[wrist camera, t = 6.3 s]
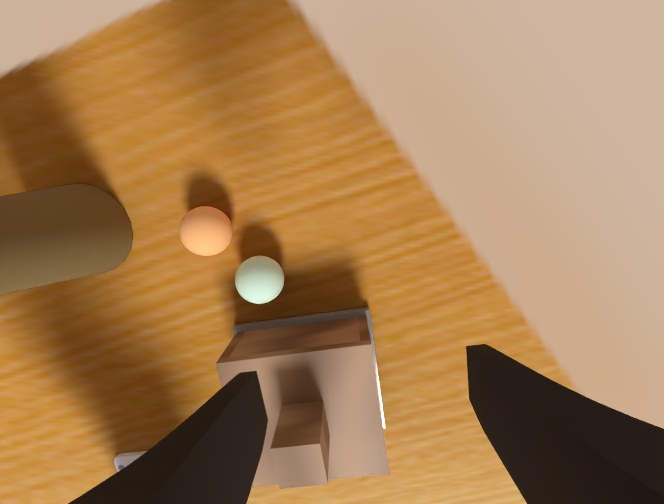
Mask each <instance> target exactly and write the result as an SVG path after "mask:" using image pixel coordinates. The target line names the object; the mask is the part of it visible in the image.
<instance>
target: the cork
mask: <svg viewBox="0 0 664 504" xmlns="http://www.w3.org/2000/svg"><path fill="white" fill-rule="evenodd" d="M132 240H133V233H132V227H131V222H130V220H129V218H128V216H127V214H126V212H125V210H124V208H123V207H122V206H121V205H120V203H119V202H118V201H117V200H116V199H115V198H114V197H113V196H112V195H110V194H109V193H107V192H105V191H104V190H102V189H101V188H98V187H95V186H92V185H88V184H69V185H63V186H57V187H52V188H46V189H40V190H34V191H28V192H23V193H17V194H11V195H5V196H0V295H2V294H6V293H11V292H16V291H20V290H25V289H30V288H34V287H39V286H44V285H48V284H53V283H58V282H62V281H67V280H72V279H76V278H81V277H86V276H90V275H95V274H100V273H104V272H107V271H110V270H113V269H115V268H117V267H118V266H119V265H120V264H121V263H123V262H124V261H125V259H126V258H127V256H128V254H129V252H130V250H131V246H132Z"/></svg>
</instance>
